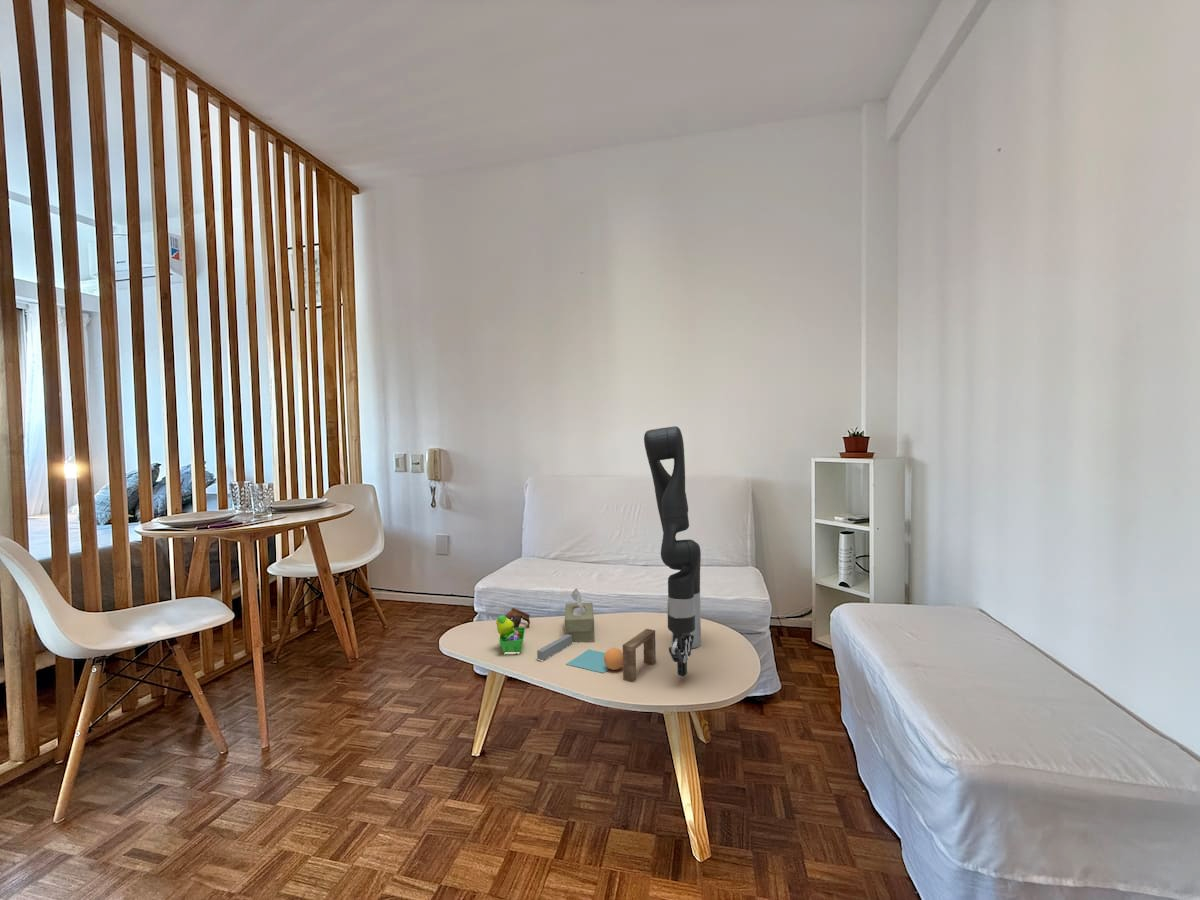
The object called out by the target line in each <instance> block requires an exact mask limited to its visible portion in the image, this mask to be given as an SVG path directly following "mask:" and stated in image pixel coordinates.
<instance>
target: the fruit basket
mask: <svg viewBox="0 0 1200 900" xmlns="http://www.w3.org/2000/svg"><path fill="white" fill-rule="evenodd" d="M511 620H512V619H511ZM511 620H510V619H508V618H506V617H505V615H503V614H502V615H499V616H497V619H496V622H495V623H496V628H497V633H498V635H499V639H498V642H499V644H500V647H501V650H502V653H503V652H504V653H505V652H520V653H521V650H522V646H523V642H524V639H525V630H526V628H525V627H519V628H513V627H514V623H513V622H512V621H511Z"/></svg>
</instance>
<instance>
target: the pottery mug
mask: <svg viewBox="0 0 1200 900" xmlns="http://www.w3.org/2000/svg"><path fill="white" fill-rule="evenodd" d="M504 616H505V617H506V618H508V619H510V620H511V621H512V622H513V623H514V627H513V628H520V624H521V623H522V620H523V621H526V622H527V628H530V624H531V621H530V616H531V614H528V613H527V612H524V611H522V610H521V609H520V610H519V609H517V608H515V607H512V608H511V610H510V611H508V612H507V613H506V614H505V615H504Z"/></svg>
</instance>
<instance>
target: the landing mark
mask: <svg viewBox="0 0 1200 900" xmlns="http://www.w3.org/2000/svg"><path fill="white" fill-rule="evenodd" d="M605 653H606V652H603V651H598V650H594V649H590V648H589V649H587V650H586V651H584V652H582V653H581V654H579V655H577V656H576V657H575V658H572V659H571V660H570V661H568V662H566V664H567V665H566V666H569V665H571V666H570V667H574V666H575V667H574V668H578V667H579V669H582V668H583V670H587V671H591V672H596V673H599V672H600V674H605V673H606V672H607V671H608V670H610V669H609V668H608V667H607V666H606V665H605V662H604V655H605Z"/></svg>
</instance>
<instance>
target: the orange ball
mask: <svg viewBox="0 0 1200 900" xmlns="http://www.w3.org/2000/svg"><path fill="white" fill-rule="evenodd" d="M604 653H605V655H604V662H605V665H606V666H607V667H608V668H609V670H612V671H617V670H619V669H621V668H622V667H623V650H621V649H620V648H617V647H611V648H609V649H607V651H606V652H604Z"/></svg>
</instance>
